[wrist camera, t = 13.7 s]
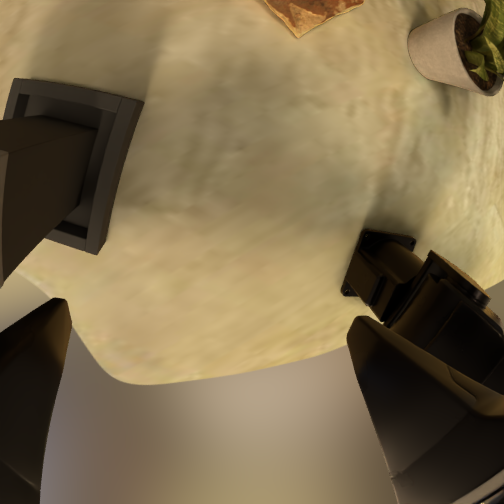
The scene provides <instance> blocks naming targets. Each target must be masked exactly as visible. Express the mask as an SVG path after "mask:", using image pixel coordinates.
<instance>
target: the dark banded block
mask: <svg viewBox="0 0 504 504" xmlns="http://www.w3.org/2000/svg"><path fill="white" fill-rule="evenodd" d="M97 133H98V129H96V128H92V127H88V126H85V125H81V124H77V123H73V122H69V121H65V120H61V119H57V118H53V117H49V116H45V115H36V116H27V117H19V118H12V119H6V120H0V288H1V287H2V286H3V284H4V281H5V280H6V279H7V277H9V275H10V274H11V273H12V272H13V271H14V270H15V269H16V267H17V266H18V265H19V264H20V263H21V262H22V261H23V260H24V259H25V257H26V256H27V255H28V254H29V253H30V252H31V251H32V250H33V249H34V248H35V247H36V246H37V245H38V244H39V243H40V242H41V241H42V240H43V239H44V238H45V237H46V236H47V235H48V234H49V233H50V232H51V231H52V230H53V229H54V228H55V227H56V226H57V225H58V224H59V223H60V222H61V221H62V220H63V219H64V218H65V217H67V216H68V215H69V214H70V213H71V212H72V211H73V210H74V209H75V208H77V207H78V206H79V205H80V200H81V195H82V190H83V185H84V181H85V177H86V173H87V169H88V165H89V161H90V157H91V154H92V150H93V147H94V143H95V140H96V137H97Z"/></svg>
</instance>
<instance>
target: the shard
mask: <svg viewBox="0 0 504 504" xmlns="http://www.w3.org/2000/svg"><path fill="white" fill-rule="evenodd" d="M264 1H265V3H266V4H267V5H268V7H269V8H270V9H271V10H272V11H273V12H274V13H275V14H276V15H277V16H278V17H279V18H281V19H282V20H283V21H284V22H285V24H286V25H287V26H288V28H289V29H290V30H292V31H293V33H294V35H295V36H296V37H297V38H300V37H301V36H303V35H304V33H306V32H308V31H309V30H311V29H312V28H314V27H315V26H318V25H321V24H322V23H324V22H326V21H327V20H330V19H331V18H333V17H335V16H336V15H340V14H343V13H346V12H349V11H350V10H351V9H353V8H355V7H359V6H361V5H363V3H364V2H365V0H264Z"/></svg>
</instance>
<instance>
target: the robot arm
mask: <svg viewBox="0 0 504 504" xmlns="http://www.w3.org/2000/svg"><path fill="white" fill-rule="evenodd" d="M366 234H368V235H367V237H365V236H366ZM411 241H412V242H411ZM415 244H416V239H415V238H413V237H411V236H406V235H400V234H394V233H389V232H383V231H377V230H371V229H364V230H363V231H362V232H361V235H360V238H359V241H358V244H357V246H356V249H355V252H354V254H353V257H352V260H351V263H350V265H349V268H348V271H347V274H346V276H345V280H344V283H343V285H342V288H341V293H342V294H343V296H354V297H360V298H361V300H362V301H363V302H364V304H365V305H366V306H369V307H370V309H371V310H372V311H373V313H374V314H375V315H376V316H377V318H378V319H379V320H380V322H384V323H383V325H382V324H380V323H379V322H377V321H375V320H374V319H372V318H371V317H369V316H357V317H356V318H355V319H354V321H353V323H352V325H351V327H350V329H349V331H348V333H347V344H348V348H349V351H350V355H351V359H352V362H353V366H354V370H355V374H356V377H357V380H358V383H359V386H360V389H361V391H362V394H363V397H364V399H365V402H366V405H367V408H368V411H369V413H370V416H371V419H372V422H373V425H374V428H375V431H376V434H377V437H378V440H379V443H380V446H381V448H382V452H383V455H384V458H385V461H386V464H387V468H388V471H389V474H390V477H391V481H392V484H393V488H394V491H395V495H396V498H397V501H398V504H504V329H503V325H502V322H501V319H500V318H499V317H498V316H497V315H496V314H495V313H494V312H492V310H490V309H489V308H488V307H487V304H488V302H489V301H490V300H491V298H490V296H489V295H488V294H487V293H486V292H485V291H484V290H483V289H482V288H481V287H480V286H479V285H478V284H477V283H476V282H475V281H474V280H473V279H472V278H471V277H470V276H468V275H467V274H466V273H465V272H463V271H462V270H461V269H459V268H458V267H457V266H455V265H454V264H452V263H451V262H449V261H448V260H446V259H445V258H443V257H442V256H440V255H439V254H437V253H436V252H434V251H433V250H430V252H429V253H428V255H427V256H428V257H427V259H426V261H425V262H423V261H422V260H421V259H420V258H419V257H417V256H416V255H415V254H414V253H412V252H413V249H414V247H415ZM346 290H347V291H346ZM345 291H346V292H345ZM71 329H72V320H71V316H70V312H69V307H68V303H67V301H66V300H65V299H62V298H52V299H50V300H49V301H47V302H46V303H44V304H43V305H41V306H39V307H38V308H36V309H35V310H33V311H32V312H30V313H29V314H27V315H26V316H24V317H23V318H21V319H20V320H18V321H17V322H15V323H14V324H12V325H11V326H9V327H8V328H6V329H5V330H3V331H2V332H1V333H0V504H40V489H41V478H42V469H43V461H44V454H45V448H46V442H47V436H48V431H49V426H50V421H51V417H52V412H53V408H54V404H55V399H56V395H57V391H58V388H59V384H60V380H61V377H62V373H63V368H64V363H65V357H66V352H67V347H68V343H69V338H70V333H71Z"/></svg>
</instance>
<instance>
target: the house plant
mask: <svg viewBox="0 0 504 504" xmlns="http://www.w3.org/2000/svg"><path fill="white" fill-rule="evenodd" d="M484 1H485V3H486V6H485V11H484V15H483V18H482V17H481V16H480V15H479V14H477V13H476V12H474V11H473V10H471V9H468V8H459V9H456V10H454V11H452V12H449V13H447V14H445V15H443V16H440V17H438V18H436V19H434V20H432V21H429V22H427V23H425V24H423V25H421V26H419V27H417V28H415V29H414V30H413V31H411V33H410V35H409V37H408V51H409V54H410V57H411V60H412V62H413V64H414V65H415V67H416V68H417V70H418V71H419V72H420V73H421V74H422V75H423V76H424V77H426V78H427V79H430V80H434V81H438V82H442V83H446V84H450V85H453V86H457V87H460V88H464V89H467V90H470V91H473V92H476V93H479V94H482V95H485V96H494V95H496V94H497V93H498V92H499V91H500V89H501V87H502V84H503V81H504V0H484Z"/></svg>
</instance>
